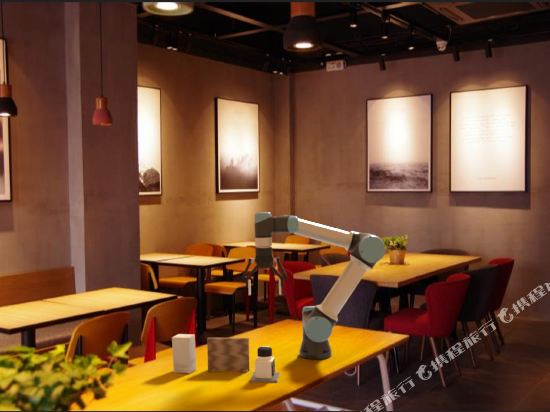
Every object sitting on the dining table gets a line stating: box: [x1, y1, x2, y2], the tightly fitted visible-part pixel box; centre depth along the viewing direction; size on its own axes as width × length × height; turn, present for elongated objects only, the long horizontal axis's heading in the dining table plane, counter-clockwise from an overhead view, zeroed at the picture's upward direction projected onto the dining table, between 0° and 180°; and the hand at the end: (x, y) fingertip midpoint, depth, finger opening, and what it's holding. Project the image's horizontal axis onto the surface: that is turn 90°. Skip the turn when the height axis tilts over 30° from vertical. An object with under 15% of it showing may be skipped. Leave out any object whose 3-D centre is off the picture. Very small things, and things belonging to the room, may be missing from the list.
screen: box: [206, 337, 250, 373], centre depth 258 cm, size 18×6×14 cm, turn 85°
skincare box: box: [171, 333, 197, 374], centre depth 258 cm, size 8×7×16 cm
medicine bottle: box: [254, 345, 276, 379], centre depth 247 cm, size 7×7×12 cm
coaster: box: [249, 371, 280, 383], centre depth 247 cm, size 11×11×1 cm
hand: (264, 294), depth 265 cm, fingers open, 13 cm apart
